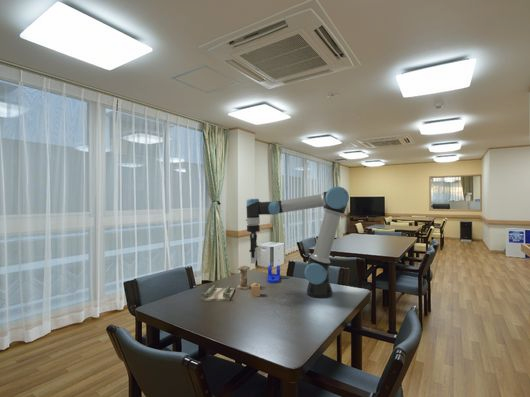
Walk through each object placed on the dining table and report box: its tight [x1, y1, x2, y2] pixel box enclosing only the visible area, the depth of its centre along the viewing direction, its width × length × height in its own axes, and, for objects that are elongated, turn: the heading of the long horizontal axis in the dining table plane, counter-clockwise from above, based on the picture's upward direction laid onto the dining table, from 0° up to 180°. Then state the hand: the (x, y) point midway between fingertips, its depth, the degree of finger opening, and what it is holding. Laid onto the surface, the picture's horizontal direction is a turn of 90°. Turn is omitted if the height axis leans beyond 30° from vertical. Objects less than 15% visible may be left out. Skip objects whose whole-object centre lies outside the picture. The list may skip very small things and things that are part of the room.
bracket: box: [266, 265, 281, 284], centre depth 202 cm, size 18×8×9 cm, turn 174°
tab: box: [250, 282, 261, 298], centre depth 169 cm, size 5×5×7 cm
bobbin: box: [236, 265, 251, 290], centre depth 184 cm, size 8×8×13 cm
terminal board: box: [200, 284, 236, 302], centre depth 170 cm, size 16×20×4 cm
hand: (254, 260), depth 168 cm, fingers open, 13 cm apart
